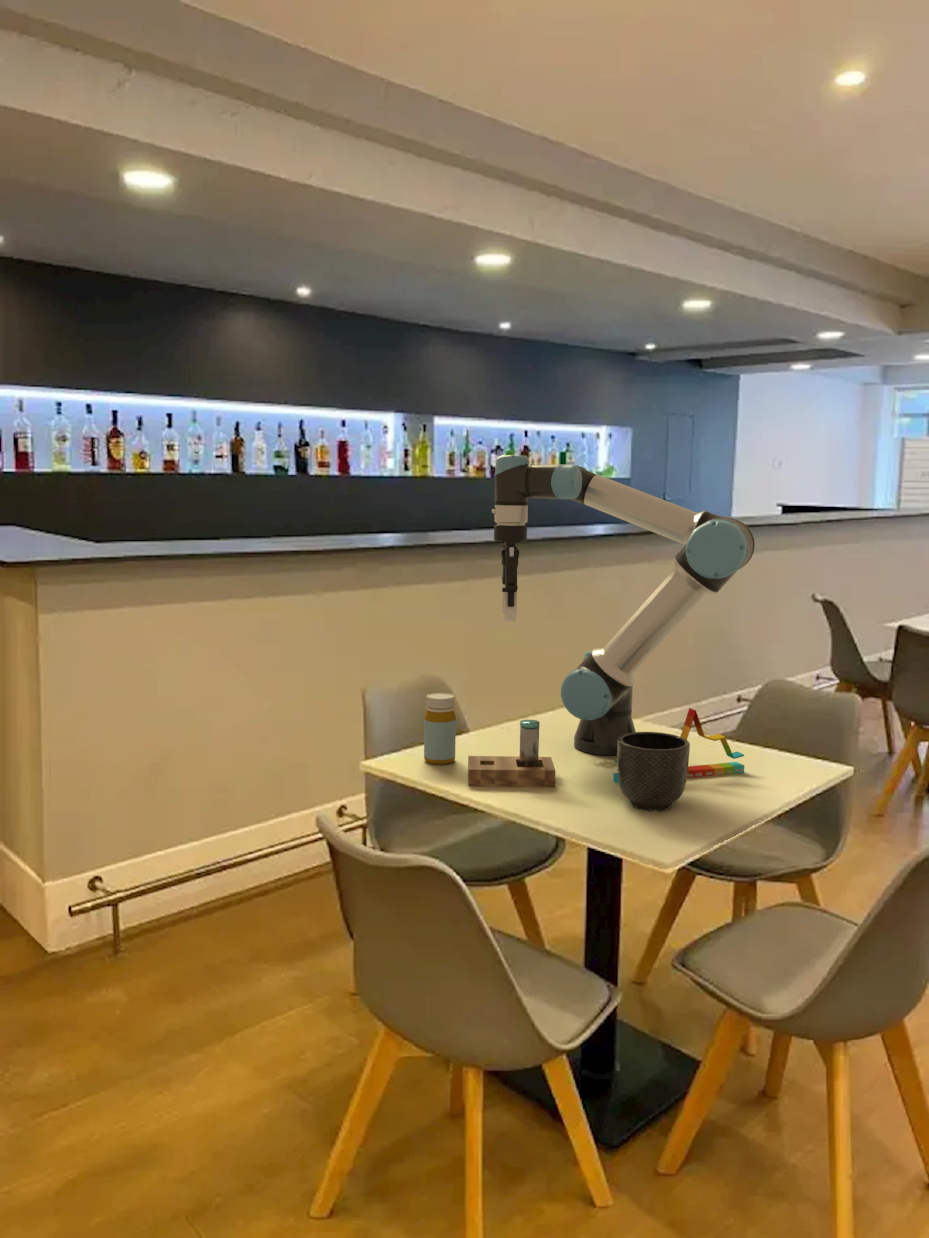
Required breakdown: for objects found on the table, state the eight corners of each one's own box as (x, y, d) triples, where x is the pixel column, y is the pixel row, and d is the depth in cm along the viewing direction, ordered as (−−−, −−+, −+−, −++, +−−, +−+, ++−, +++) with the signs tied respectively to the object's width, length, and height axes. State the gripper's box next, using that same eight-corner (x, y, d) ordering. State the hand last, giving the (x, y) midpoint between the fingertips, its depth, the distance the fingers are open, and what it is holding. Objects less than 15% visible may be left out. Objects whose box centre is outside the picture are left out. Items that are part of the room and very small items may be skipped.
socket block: (550, 772, 212) (551, 756, 212) (555, 786, 202) (555, 770, 202) (468, 771, 212) (468, 755, 212) (468, 785, 202) (468, 769, 202)
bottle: (456, 757, 223) (457, 693, 221) (453, 766, 216) (454, 699, 214) (426, 755, 224) (426, 691, 221) (422, 764, 217) (422, 698, 215)
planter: (700, 812, 188) (703, 747, 186) (634, 818, 184) (637, 752, 182) (665, 790, 201) (668, 729, 199) (603, 795, 197) (605, 733, 195)
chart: (620, 786, 204) (622, 716, 202) (613, 781, 207) (615, 712, 205) (744, 774, 214) (748, 707, 212) (736, 770, 217) (739, 704, 215)
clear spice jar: (537, 774, 209) (538, 719, 208) (538, 779, 205) (540, 724, 203) (518, 773, 209) (519, 719, 208) (519, 779, 205) (520, 724, 203)
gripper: (492, 521, 234) (490, 609, 237) (495, 526, 209) (494, 624, 212) (523, 522, 234) (521, 609, 237) (530, 527, 209) (528, 624, 212)
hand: (508, 616), depth 225 cm, fingers open, 13 cm apart
